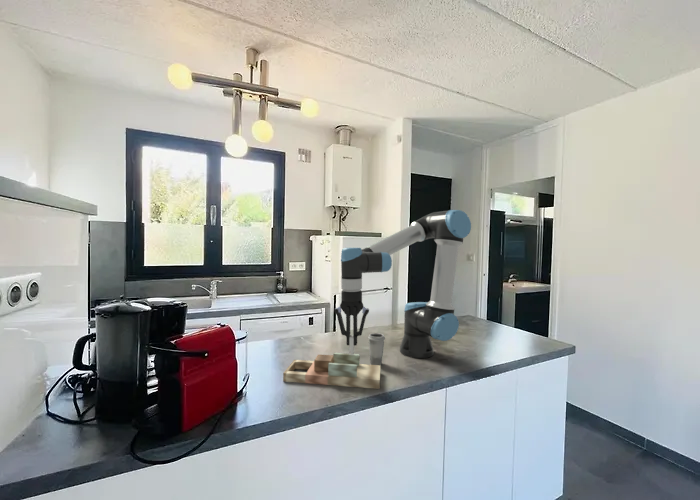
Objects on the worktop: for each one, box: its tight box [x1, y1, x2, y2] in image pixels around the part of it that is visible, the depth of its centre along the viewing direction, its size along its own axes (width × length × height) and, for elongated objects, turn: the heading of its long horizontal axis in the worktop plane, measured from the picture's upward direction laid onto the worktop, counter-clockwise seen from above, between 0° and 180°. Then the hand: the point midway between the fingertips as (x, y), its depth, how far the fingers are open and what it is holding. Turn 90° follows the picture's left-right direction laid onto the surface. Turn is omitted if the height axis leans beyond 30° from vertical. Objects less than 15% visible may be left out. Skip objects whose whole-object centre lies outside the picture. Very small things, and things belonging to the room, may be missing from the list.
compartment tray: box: [282, 352, 381, 390], centre depth 114 cm, size 34×13×7 cm, turn 83°
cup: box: [367, 332, 386, 366], centre depth 128 cm, size 7×7×12 cm
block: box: [313, 353, 334, 372], centre depth 115 cm, size 6×6×4 cm
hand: (351, 353), depth 114 cm, fingers closed
